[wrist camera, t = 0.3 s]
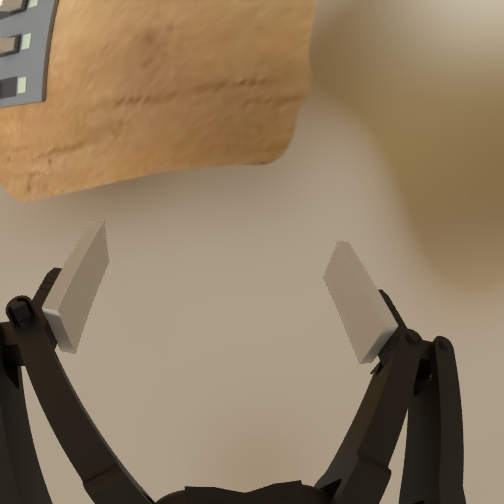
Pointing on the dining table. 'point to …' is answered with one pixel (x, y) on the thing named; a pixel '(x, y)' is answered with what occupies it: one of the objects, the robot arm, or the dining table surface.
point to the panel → (26, 52)
